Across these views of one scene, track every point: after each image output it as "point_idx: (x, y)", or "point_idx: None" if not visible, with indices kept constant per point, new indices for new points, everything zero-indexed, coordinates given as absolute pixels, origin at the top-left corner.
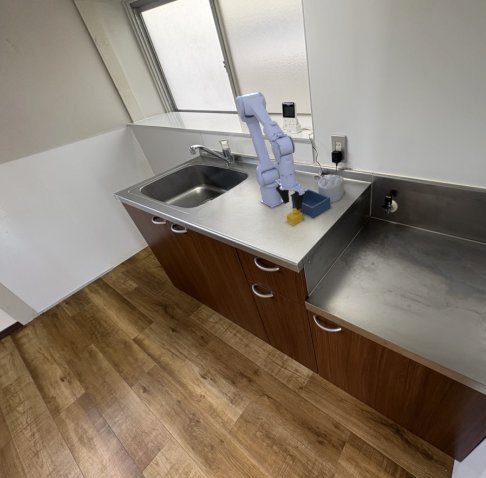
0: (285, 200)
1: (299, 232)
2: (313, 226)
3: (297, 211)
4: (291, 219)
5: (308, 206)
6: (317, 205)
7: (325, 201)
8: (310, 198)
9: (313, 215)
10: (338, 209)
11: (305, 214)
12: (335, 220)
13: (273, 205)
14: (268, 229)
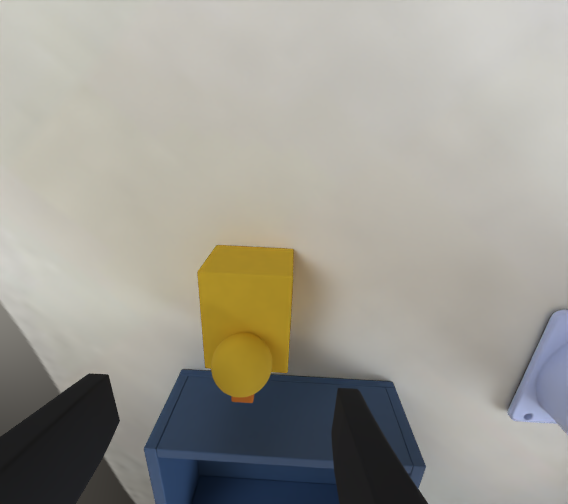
0: (343, 442)
1: (111, 213)
2: (107, 314)
3: (211, 364)
4: (215, 267)
5: (189, 449)
6: (153, 482)
7: None
8: None
9: (173, 389)
10: None
11: None
12: None
13: (565, 333)
14: (352, 66)
